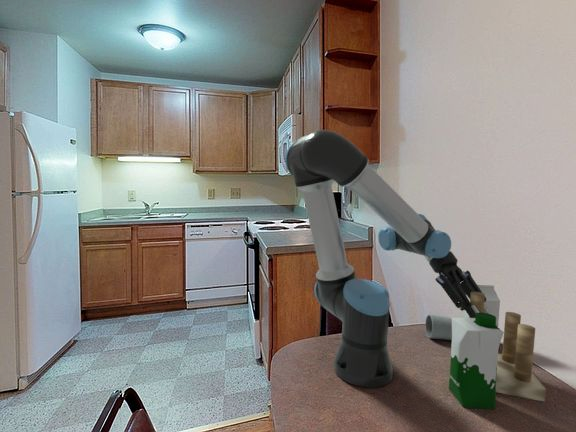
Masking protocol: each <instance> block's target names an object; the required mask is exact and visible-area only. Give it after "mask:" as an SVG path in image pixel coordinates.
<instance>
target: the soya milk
mask: <svg viewBox="0 0 576 432" xmlns="http://www.w3.org/2000/svg"><path fill="white" fill-rule="evenodd" d="M451 318H452V340H451V347H450V350H451V351H450V365H449V376H448V377H449V380H448V390H449V391H450V393H452V395H453V397H455V399H456V400H457V402H459V404H460V405H461V406H462V408H471V409H489V410H490V409H491V410H496V393H497V392H496V374H497V361H498V354H499V347H500V344H501V341H502V339H503V337H504V330H502V329H500V328H499V326H498V327H497V326H496V317H495V316H494V315H491V314H488V313H476V318H466V317H464V316H462V317H451Z"/></svg>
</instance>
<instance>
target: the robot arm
mask: <svg viewBox="0 0 576 432" xmlns="http://www.w3.org/2000/svg"><path fill="white" fill-rule="evenodd" d="M369 161H370V160H369V158H368V157H367V156H366V154H364V153H363V151H362V150H360V149H359V148H358V147H357V146H356V145H355V144H354V143H353V142H351V141H350V140H349V139H347V138H346V137H344V136H343V135H341V134H339V133H338V132H335V131H333V130H327V129H319V130H316V131H314V132H312V133H309V134H307V135H303V136H301V137H298V138H297V139H296V140H295V141H293V142H292V143H291V144H290V145H289V147H288V148H287V149H286V152H285V156H284V163H285V167H286V169H287V171H288V173H289V174H290V175H291V176H292V177H293V180H294V184H295V188H296V189H297V190H299V191H301V192H302V196H303V201H304V205H305V209H306V214H307V218H308V223H309V228H310V232H311V236H312V241H313V245H314V250H315V254H316V259H317V263H318V268H319V269H318V270H317V272H316V274H315V279H316V282H315V284H314V289H313V290H314V291H313V292H314V296H315V298H316V301H317V302H318V303H319V305H321V307H322V308H323V309H324V310H326V311H328V312H329V313H330V314H332V315H333V316H335V317H336V318H338V319H339V320H340V321H341V322H342V325H341V326H342V329H341V340H340V344H339V346H338V349H337V351H336V354H335V356H334V361H333V370H334V372H335V374H336V375H337V377H339V378H340V379H341V380H342V381H345V382H346V383H348V384H350V385H353V386H356V387H361V388H362V387H363V388H380V387H384V386H386V385H388V384H390V382H391V381H392V380H393V372H394V371H393V370H394V369H393V365H392V361H391V357H390V356H391V355H390V353H389V350H388V346H387V345H388V331H389V318H390V317H389V316H390V306H391V304H390V294H389V292H388V290H387V288H386V287H384V286H383V284H380V283H378V282H376V281H373V280H371V281H370V280H369V279H366V278H365V279H364V278H357V277H356V273H355V269H354V266H352V265H351V264H349V263H348V259H347V255H346V249H345V243H344V240H343V234H342V230H341V225H340V220H339V216H338V215H339V214H338V210H337V205H336V200H335V195H334V192H333V184H334V183H337V184H338V185H339V186H340V187H347V188H348V189H349V190H350V191H351V192H352V193H354V195H356V196H357V197H358V198H359V200H361V201H362V203H364V204H365V205H366V206H368V207H369V208H370V210H372V211H373V212H374V213H375V214H376V215H377V216H378V217H379V218H381V220H383V221H384V222H385V223H386V224H387V225H388V226H385V227H382V228H380V229H379V232H378V234H377V236H378V237H377V238H378V244H379V246H380V248H382V250H384V251H389V252H390V251H395V250H400V251H404V252H408V253H413V254H416V255H420V256H424V258H425V260H426V261H427V262H428V263H429V266H430V268H431V269H432V271H434V273H436V274H438V276H437V277H436V278H435V281H436V282H437V284H439V285H440V287H441V288H442V289H443V290H444V292H445V294H447V296H448V297H449V299H450V300H451V302H452V303H453V304H454V306H455V307H456V308H457V309H459V310H460V311H461V312H463V311H466V312H467V314H468V315H469V317H470V318H476V313H480V312H479V311H478V310H477V308H476V307H475V305H472V306H471V303H470V301H469V299H470V295H471V292H481V293H482V291H481V290H480V288H479V287H478V285H479V284H477V282H476V281H475V280H474V278H473V277H472V275H471V272H470V271H469V270H466V271H463V270H462V268H460V267H459V266H458V265H457V264H458V262H459V261H458V258H457V257H456V256H455V254H454V253H453V251H451V248H452V240H451V238H450V235H449V234H448V233H447V232H444V231H441V230H439V229H435V228H434V225H433V224H432V223H431V221H430V220H428V218H427V217H426V216H425V215H424V214H421V213H417V212H416V211H415V209H414V208H412V206H410V204H409V203H407V202H406V200H404V199H403V198H402V196H401V195H400V194H399V193H397V192H396V190H394V189H393V187H391V186H390V185H389V184H388V182H386V180H384V179H383V177H381V176H380V175H379V174H378V173H377V172H376V170H374V169H373V168H372V167H371V166H370V164H369ZM466 295H467V296H468V297H469V299H468V298H467V296H466ZM484 302H486V297H485V299H484ZM484 313H488V314H491V313H490V311H489V310H488V309H487V307H486V306H485V304H484ZM496 326H498V327H499V322H498V323H497V321H496Z"/></svg>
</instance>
